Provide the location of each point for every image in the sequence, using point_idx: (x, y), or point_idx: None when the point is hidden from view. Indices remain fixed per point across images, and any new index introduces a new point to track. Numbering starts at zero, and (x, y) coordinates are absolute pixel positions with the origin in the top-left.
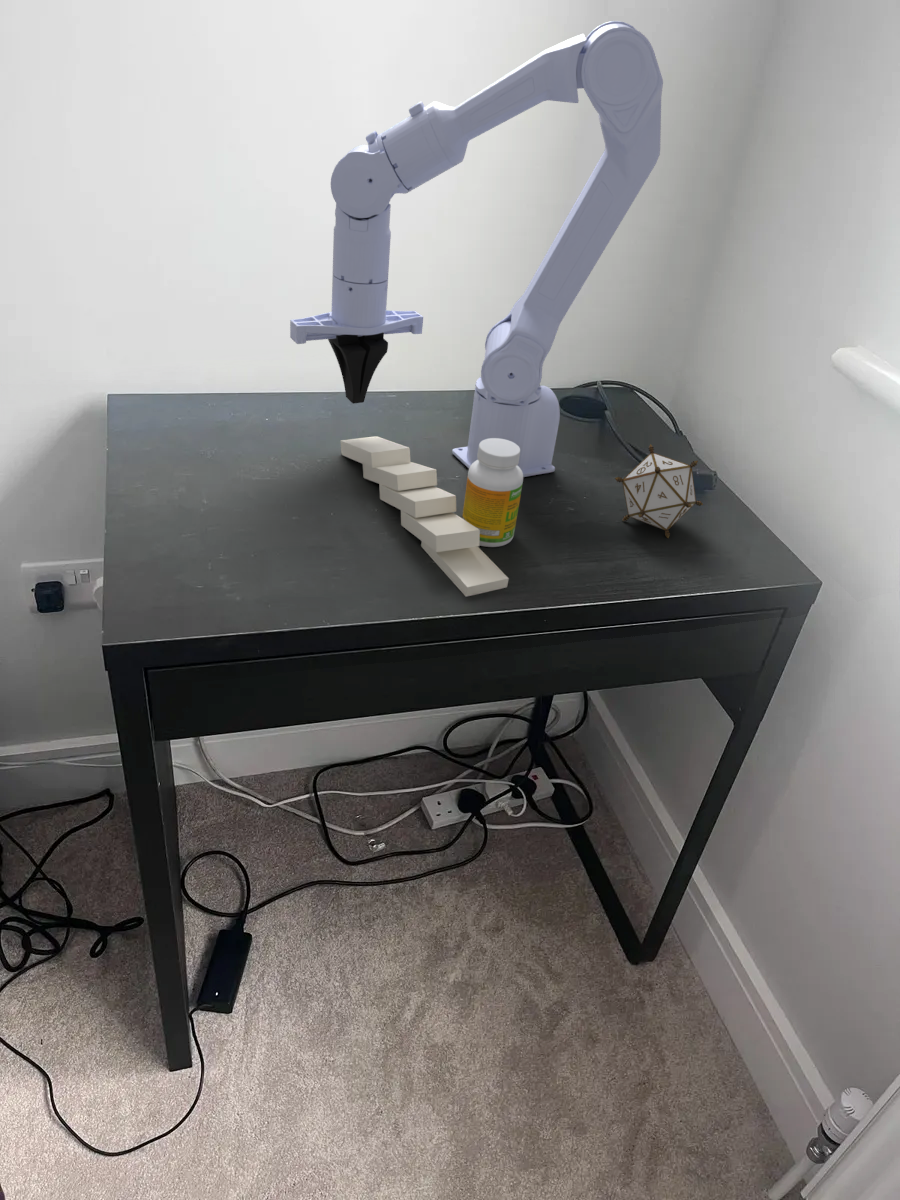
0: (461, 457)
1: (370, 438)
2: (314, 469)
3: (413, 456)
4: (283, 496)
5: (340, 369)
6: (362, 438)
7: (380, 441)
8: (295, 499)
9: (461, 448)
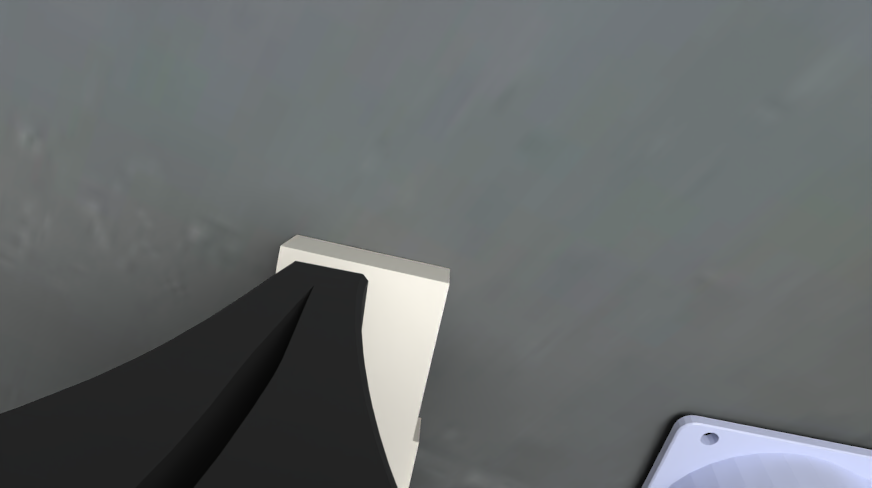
0: (661, 472)
1: (396, 310)
2: (157, 275)
3: (541, 361)
4: (15, 357)
5: (171, 340)
6: (373, 282)
7: (384, 397)
8: (46, 384)
9: (719, 437)
